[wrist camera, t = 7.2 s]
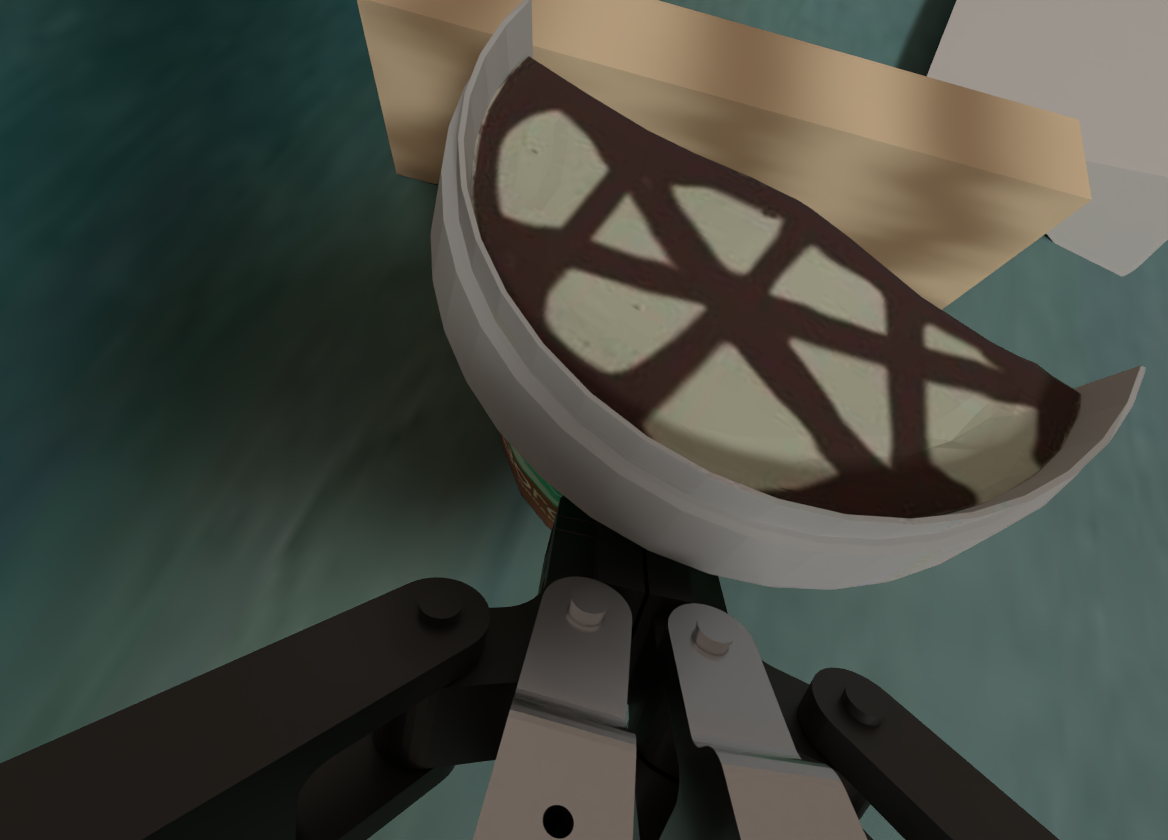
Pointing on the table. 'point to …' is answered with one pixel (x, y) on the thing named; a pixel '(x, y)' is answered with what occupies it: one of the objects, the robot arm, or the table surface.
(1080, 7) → the grey long flat block
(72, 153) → the table surface
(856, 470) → the food container
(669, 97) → the light wooden block
